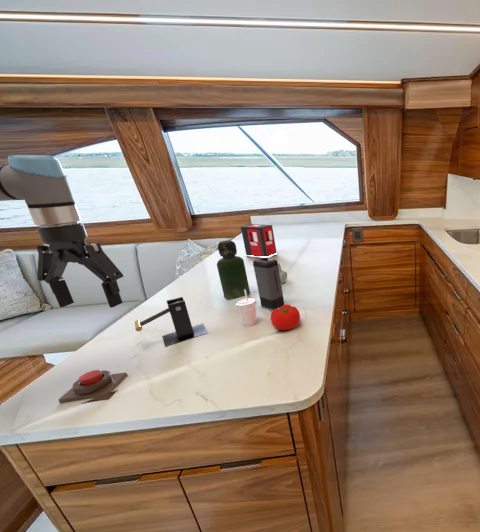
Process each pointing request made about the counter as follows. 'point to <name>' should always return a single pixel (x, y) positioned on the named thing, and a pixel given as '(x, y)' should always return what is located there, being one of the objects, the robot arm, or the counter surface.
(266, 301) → the electronic device
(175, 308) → the switch bracket
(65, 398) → the button block
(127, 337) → the counter surface
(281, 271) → the air freshener
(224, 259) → the green bottle
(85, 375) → the red button
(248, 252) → the cleaning product box
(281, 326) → the tomato
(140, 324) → the switch lever
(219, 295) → the counter surface
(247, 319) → the smoothie
